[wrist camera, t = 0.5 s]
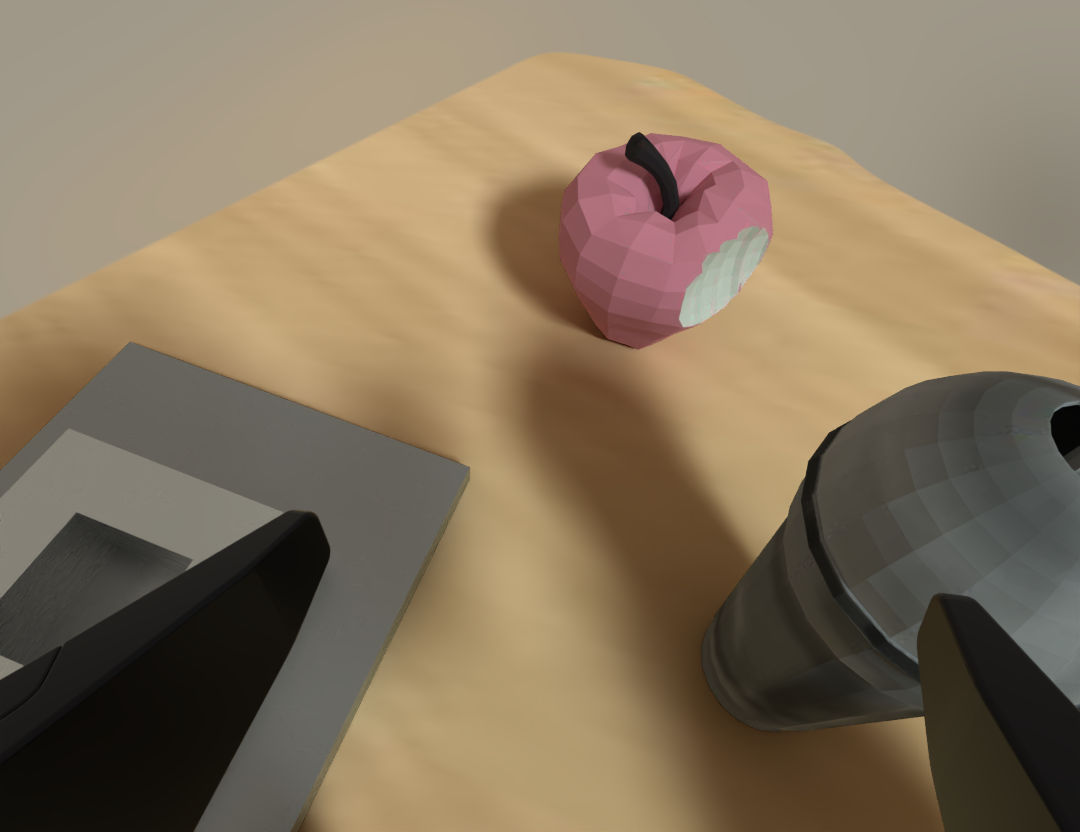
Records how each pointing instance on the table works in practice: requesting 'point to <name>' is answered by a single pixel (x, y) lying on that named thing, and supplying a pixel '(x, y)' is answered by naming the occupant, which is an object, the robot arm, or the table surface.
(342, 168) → the table surface
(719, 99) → the table surface
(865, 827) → the table surface
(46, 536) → the gray tray
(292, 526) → the robot arm
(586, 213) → the apple
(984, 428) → the beverage cup
